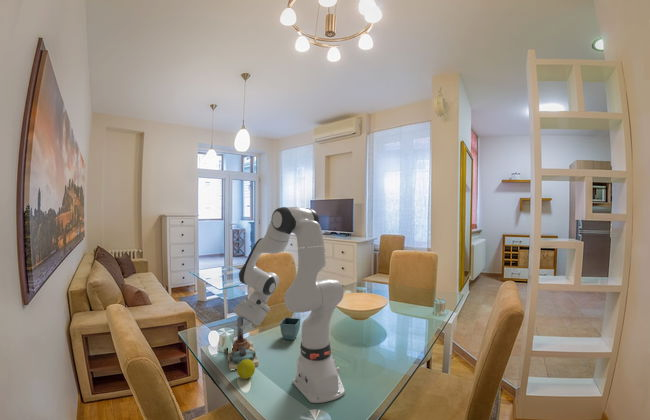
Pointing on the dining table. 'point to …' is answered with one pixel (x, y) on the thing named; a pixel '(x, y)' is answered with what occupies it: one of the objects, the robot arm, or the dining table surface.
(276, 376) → the dining table surface
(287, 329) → the flower pot
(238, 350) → the gear board
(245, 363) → the tennis ball
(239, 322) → the axle pin
